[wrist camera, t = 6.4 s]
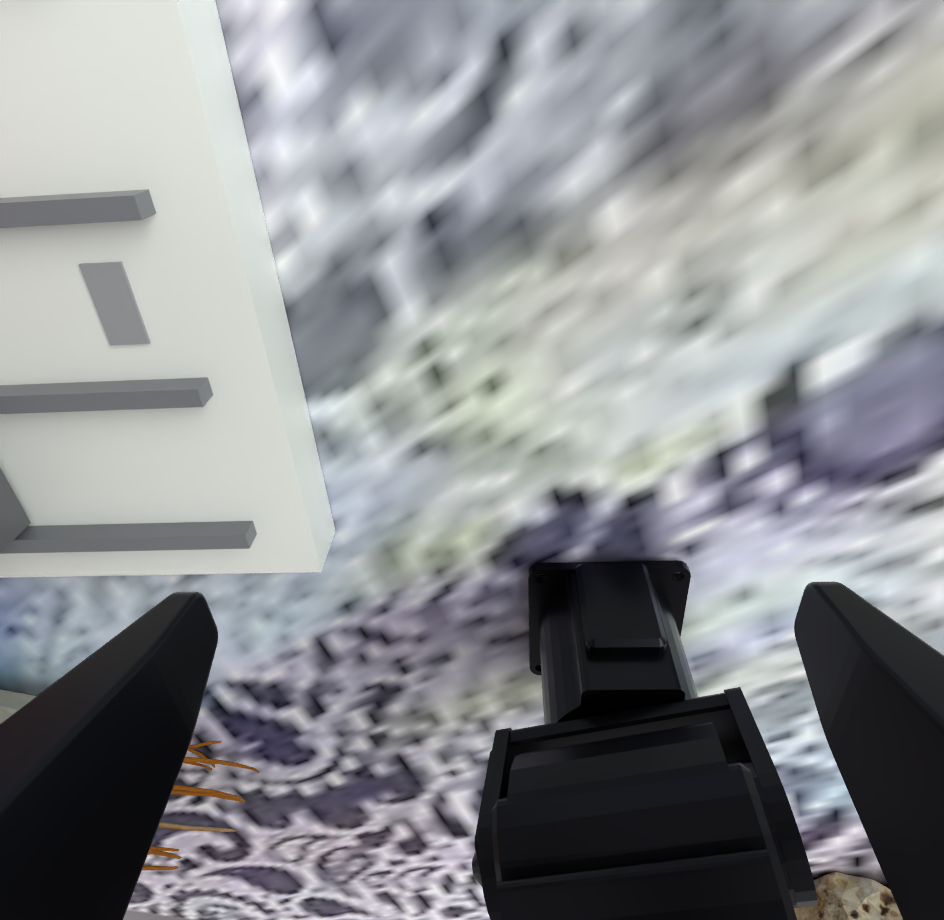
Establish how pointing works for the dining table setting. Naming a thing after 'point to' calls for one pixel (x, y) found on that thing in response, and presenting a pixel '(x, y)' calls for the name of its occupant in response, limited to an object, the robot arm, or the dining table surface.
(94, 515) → the white flat slab
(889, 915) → the rock
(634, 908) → the robot arm
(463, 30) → the dining table surface
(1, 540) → the grey cube
